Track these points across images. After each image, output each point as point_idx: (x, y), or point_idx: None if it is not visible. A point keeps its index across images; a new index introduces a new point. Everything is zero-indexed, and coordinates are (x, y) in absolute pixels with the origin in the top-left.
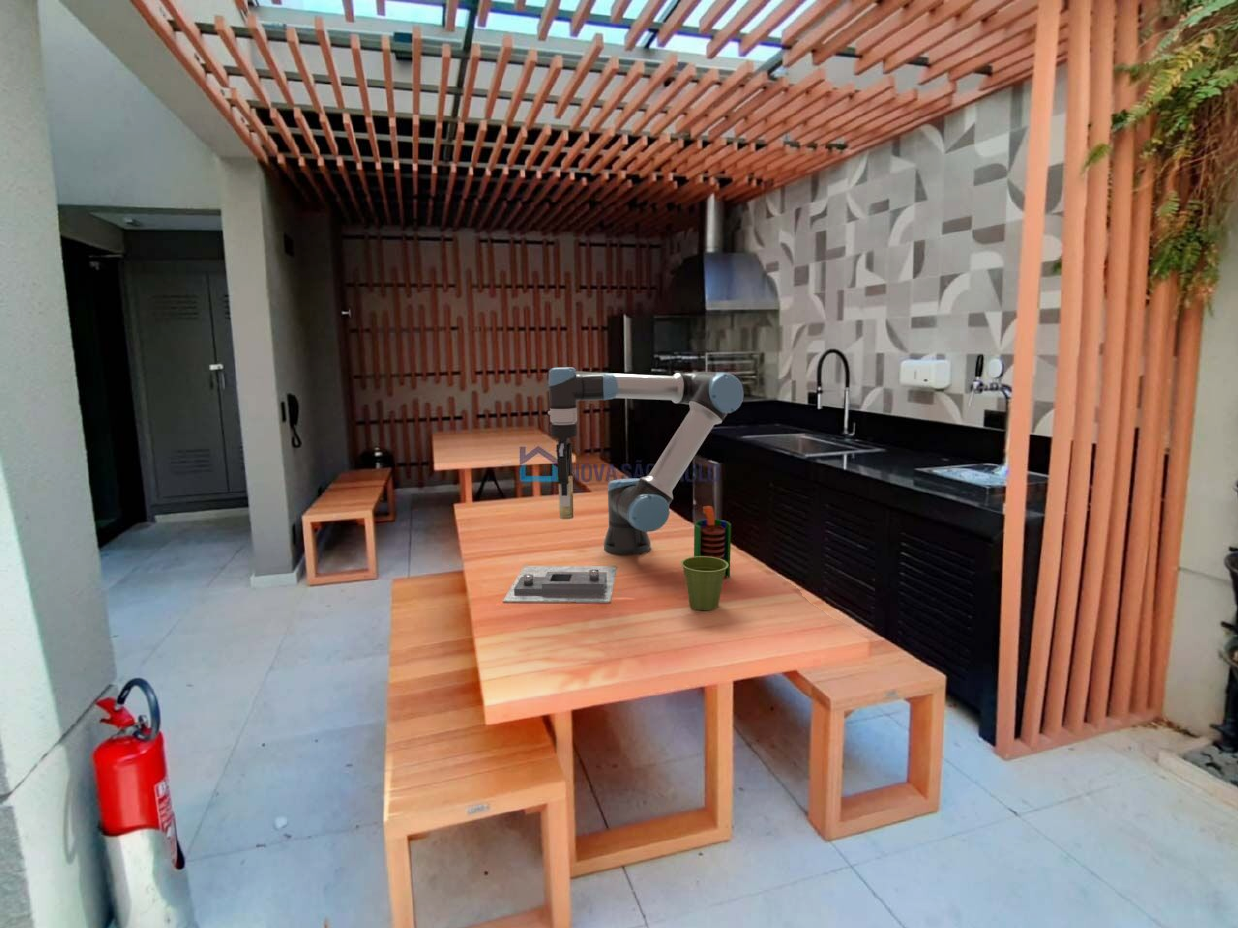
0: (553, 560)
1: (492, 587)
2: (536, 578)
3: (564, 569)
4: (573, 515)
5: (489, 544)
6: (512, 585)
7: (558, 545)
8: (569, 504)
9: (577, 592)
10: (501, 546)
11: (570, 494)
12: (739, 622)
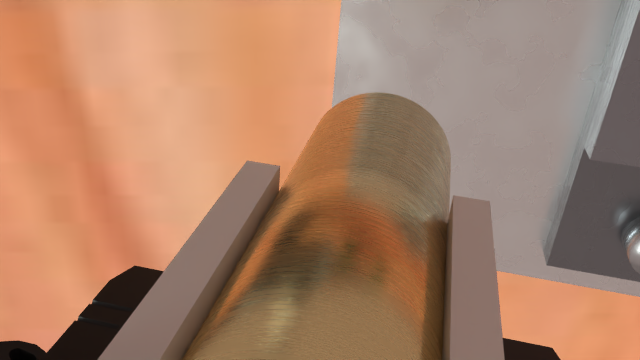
0: (227, 108)
1: (558, 347)
2: (591, 200)
3: (392, 53)
4: (389, 101)
5: (46, 349)
6: (581, 284)
7: (6, 87)
8: (489, 216)
9: None
10: (62, 312)
11: (416, 274)
12: None
